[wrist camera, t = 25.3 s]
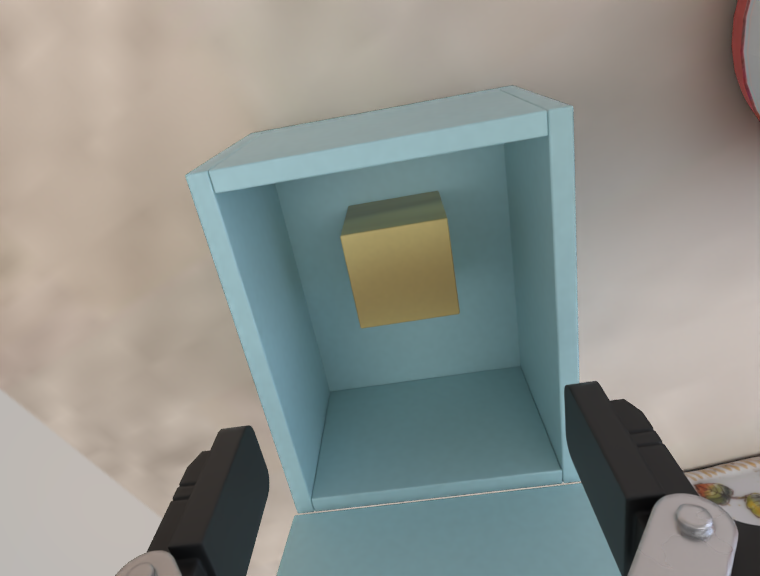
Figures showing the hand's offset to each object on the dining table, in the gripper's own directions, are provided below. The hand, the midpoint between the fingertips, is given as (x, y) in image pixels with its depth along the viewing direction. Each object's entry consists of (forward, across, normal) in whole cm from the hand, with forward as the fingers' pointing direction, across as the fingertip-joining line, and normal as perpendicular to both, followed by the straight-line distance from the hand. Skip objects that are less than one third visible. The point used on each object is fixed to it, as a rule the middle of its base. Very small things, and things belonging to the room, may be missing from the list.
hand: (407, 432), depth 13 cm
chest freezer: (+15, 0, +2) cm, 15 cm away
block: (+14, 0, 0) cm, 14 cm away
